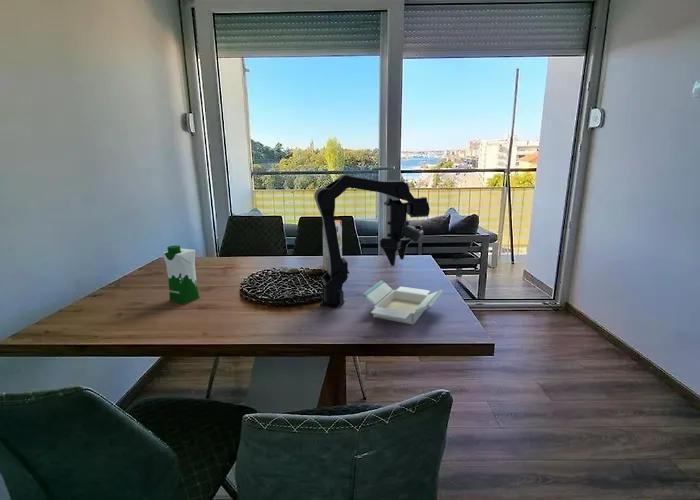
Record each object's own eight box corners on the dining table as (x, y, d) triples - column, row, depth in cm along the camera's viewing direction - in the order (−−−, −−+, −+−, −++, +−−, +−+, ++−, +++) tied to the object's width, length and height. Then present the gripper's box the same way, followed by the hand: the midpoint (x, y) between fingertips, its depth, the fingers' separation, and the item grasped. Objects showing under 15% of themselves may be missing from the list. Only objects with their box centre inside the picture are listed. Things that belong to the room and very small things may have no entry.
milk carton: (165, 302, 139) (158, 247, 134) (186, 294, 147) (179, 241, 142) (184, 305, 135) (177, 249, 131) (203, 297, 143) (198, 243, 139)
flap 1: (374, 305, 124) (362, 295, 125) (391, 291, 137) (380, 281, 138) (375, 303, 124) (363, 293, 125) (392, 289, 137) (381, 280, 138)
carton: (367, 322, 120) (367, 311, 119) (397, 295, 143) (397, 286, 142) (408, 330, 114) (408, 318, 113) (432, 300, 137) (433, 291, 136)
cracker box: (336, 271, 172) (335, 224, 168) (322, 271, 174) (321, 224, 169) (343, 263, 186) (342, 219, 181) (330, 263, 187) (329, 219, 182)
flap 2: (414, 310, 118) (429, 304, 116) (428, 294, 131) (441, 289, 128) (415, 312, 118) (430, 307, 115) (429, 296, 131) (443, 291, 128)
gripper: (412, 224, 122) (411, 272, 126) (428, 215, 138) (427, 258, 142) (379, 221, 127) (379, 268, 131) (398, 214, 143) (398, 255, 147)
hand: (397, 262), depth 137 cm, fingers open, 9 cm apart
